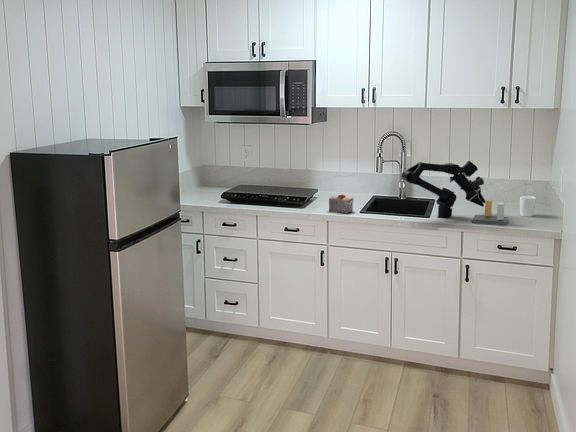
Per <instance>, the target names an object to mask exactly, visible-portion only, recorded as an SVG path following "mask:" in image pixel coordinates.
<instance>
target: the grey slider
mask: <svg viewBox="0 0 576 432" xmlns="http://www.w3.org/2000/svg"><path fill="white" fill-rule="evenodd" d="M496 208H497V209H496V216H497V220H503V219H504V217H505V202H498V203H497V207H496Z"/></svg>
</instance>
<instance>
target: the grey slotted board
mask: <svg viewBox="0 0 576 432" xmlns="http://www.w3.org/2000/svg"><path fill="white" fill-rule="evenodd" d="M508 219H509V218H508V216H504V219H503V220H497V215H491V217H488V216H485V214H475V215H474V216H473V217H472V221H471V224H480V225H489V226H490V225H494V226H504V227H505V226H506V225H507V223H508Z"/></svg>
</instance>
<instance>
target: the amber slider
mask: <svg viewBox="0 0 576 432" xmlns="http://www.w3.org/2000/svg"><path fill="white" fill-rule="evenodd" d="M492 208H493V200H492V199H485V203H484V215H485V216H488V217H491V216H492V211H493V209H492Z"/></svg>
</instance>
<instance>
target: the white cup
mask: <svg viewBox="0 0 576 432" xmlns="http://www.w3.org/2000/svg"><path fill="white" fill-rule="evenodd" d="M536 200H537V197H536V196H532V195H521V196H520V197H519V216H521V217H527V218H528V217H529V218H531V217H534V214H535V208H536Z"/></svg>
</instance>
